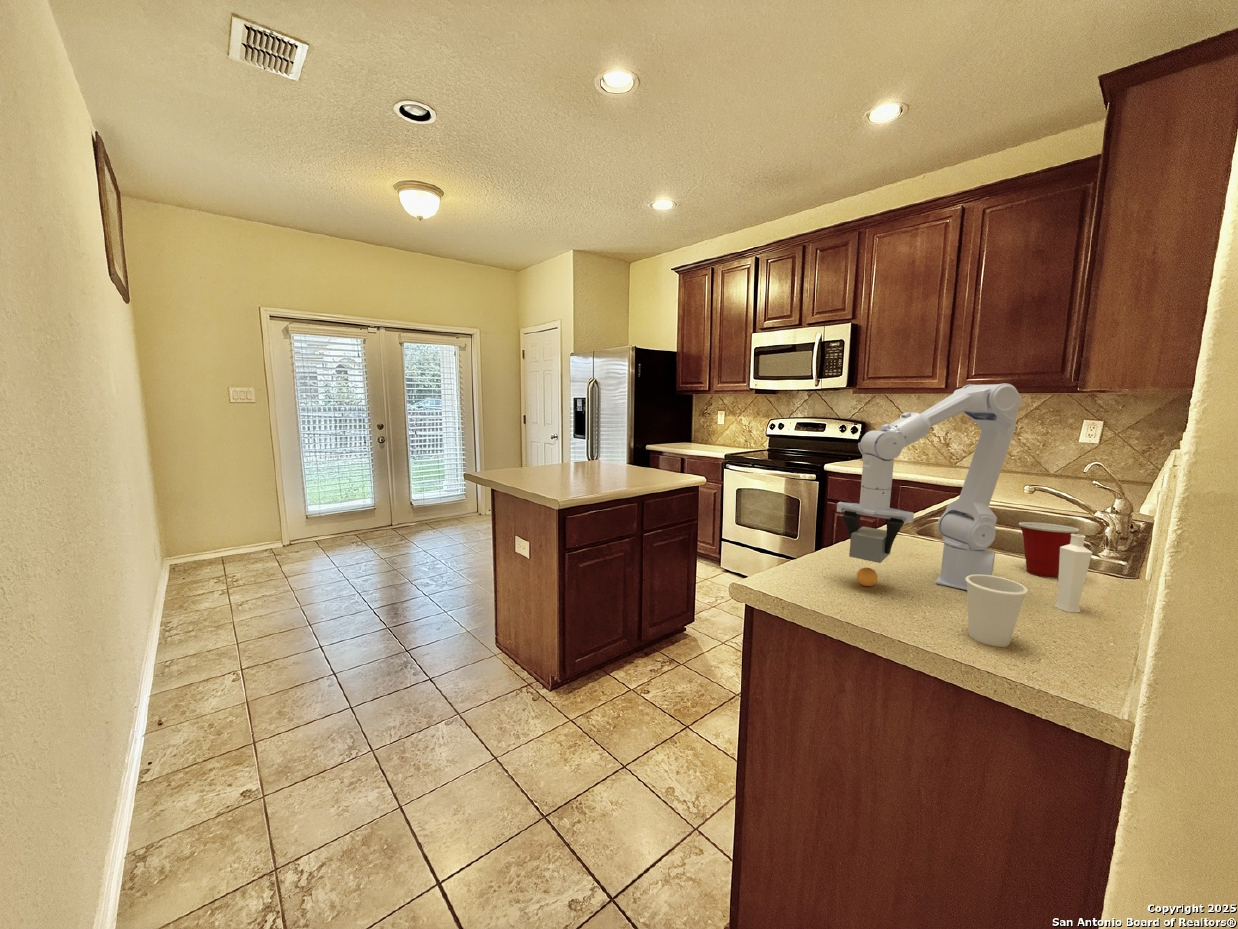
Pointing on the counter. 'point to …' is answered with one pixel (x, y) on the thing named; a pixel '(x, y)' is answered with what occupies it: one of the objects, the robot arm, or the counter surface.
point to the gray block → (868, 544)
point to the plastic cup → (1044, 546)
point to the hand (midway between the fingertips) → (870, 549)
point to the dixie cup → (993, 608)
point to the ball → (867, 576)
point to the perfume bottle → (1072, 573)
